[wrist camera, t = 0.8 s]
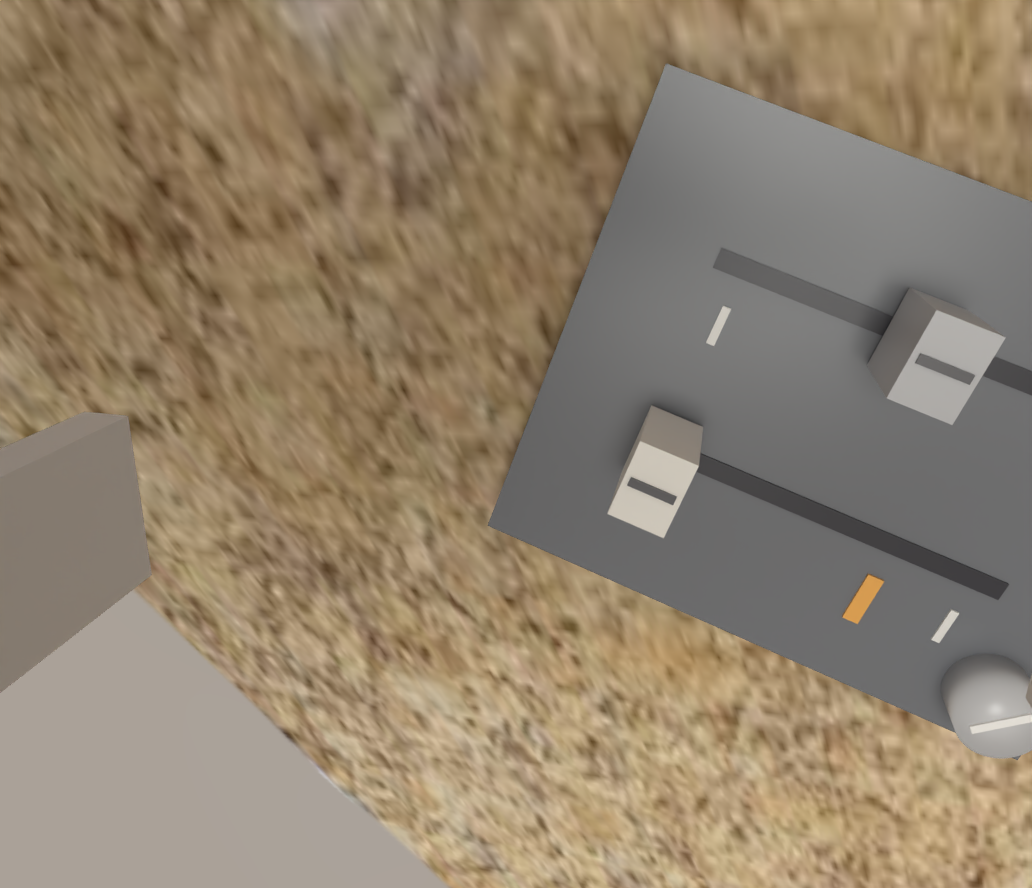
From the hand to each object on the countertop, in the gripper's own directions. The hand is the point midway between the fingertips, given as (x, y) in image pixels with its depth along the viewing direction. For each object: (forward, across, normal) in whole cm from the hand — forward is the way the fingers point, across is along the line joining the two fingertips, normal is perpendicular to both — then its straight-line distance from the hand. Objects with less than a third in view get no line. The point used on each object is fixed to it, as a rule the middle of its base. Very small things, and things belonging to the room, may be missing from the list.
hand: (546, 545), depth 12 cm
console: (+22, +8, -5) cm, 24 cm away
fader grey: (+19, +9, -1) cm, 21 cm away
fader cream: (+19, +1, -5) cm, 20 cm away
